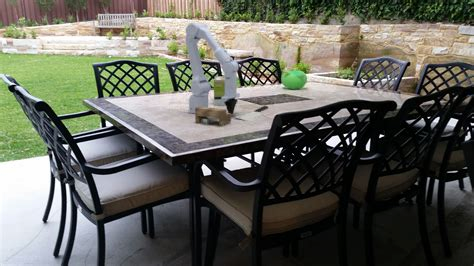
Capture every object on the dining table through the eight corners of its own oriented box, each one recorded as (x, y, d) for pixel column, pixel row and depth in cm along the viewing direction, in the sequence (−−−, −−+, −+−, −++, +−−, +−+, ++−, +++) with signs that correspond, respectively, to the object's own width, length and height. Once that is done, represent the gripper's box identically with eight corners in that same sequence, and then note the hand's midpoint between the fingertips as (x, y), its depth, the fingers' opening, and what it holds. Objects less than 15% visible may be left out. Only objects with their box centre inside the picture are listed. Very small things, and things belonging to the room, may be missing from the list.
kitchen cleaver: (253, 120, 181) (234, 115, 185) (252, 124, 181) (234, 119, 185) (278, 108, 207) (261, 104, 212) (278, 111, 208) (261, 107, 212)
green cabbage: (307, 87, 283) (308, 67, 279) (305, 91, 267) (306, 69, 263) (282, 86, 287) (282, 66, 283) (279, 90, 271) (280, 69, 267)
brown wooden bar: (200, 123, 179) (200, 118, 178) (219, 117, 190) (219, 113, 189) (207, 124, 177) (207, 119, 176) (226, 119, 188) (226, 114, 187)
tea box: (215, 101, 231) (214, 76, 228) (232, 101, 231) (232, 76, 228) (213, 106, 217) (213, 79, 213) (231, 106, 217) (231, 79, 213)
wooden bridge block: (195, 122, 178) (195, 107, 176) (205, 119, 185) (204, 104, 183) (222, 126, 172) (221, 111, 170) (230, 122, 179) (230, 107, 177)
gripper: (230, 88, 180) (230, 117, 184) (245, 85, 193) (244, 112, 196) (217, 87, 184) (217, 116, 187) (232, 84, 196) (232, 110, 199)
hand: (230, 113), depth 192 cm, fingers closed
